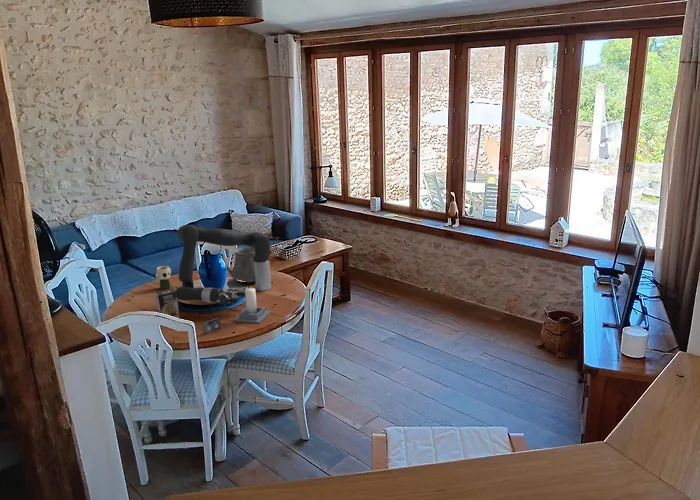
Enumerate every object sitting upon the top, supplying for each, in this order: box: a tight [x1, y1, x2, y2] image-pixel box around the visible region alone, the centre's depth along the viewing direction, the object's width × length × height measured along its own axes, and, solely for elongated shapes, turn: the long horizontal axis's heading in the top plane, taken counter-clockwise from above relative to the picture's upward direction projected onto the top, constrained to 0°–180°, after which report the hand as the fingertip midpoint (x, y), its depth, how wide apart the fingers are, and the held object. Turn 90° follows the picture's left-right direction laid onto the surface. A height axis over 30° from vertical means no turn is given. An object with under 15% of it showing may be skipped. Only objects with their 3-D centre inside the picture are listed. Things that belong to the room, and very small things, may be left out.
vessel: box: [226, 246, 255, 284], centre depth 333 cm, size 22×22×20 cm
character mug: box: [155, 265, 172, 290], centre depth 323 cm, size 11×7×13 cm, turn 149°
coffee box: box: [154, 288, 180, 319], centre depth 276 cm, size 9×6×16 cm
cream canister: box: [244, 287, 258, 314], centre depth 279 cm, size 5×5×14 cm
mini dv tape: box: [202, 317, 222, 335], centre depth 265 cm, size 8×2×6 cm, turn 133°
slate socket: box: [233, 306, 272, 324], centre depth 280 cm, size 14×14×4 cm
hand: (241, 297), depth 279 cm, fingers open, 8 cm apart
